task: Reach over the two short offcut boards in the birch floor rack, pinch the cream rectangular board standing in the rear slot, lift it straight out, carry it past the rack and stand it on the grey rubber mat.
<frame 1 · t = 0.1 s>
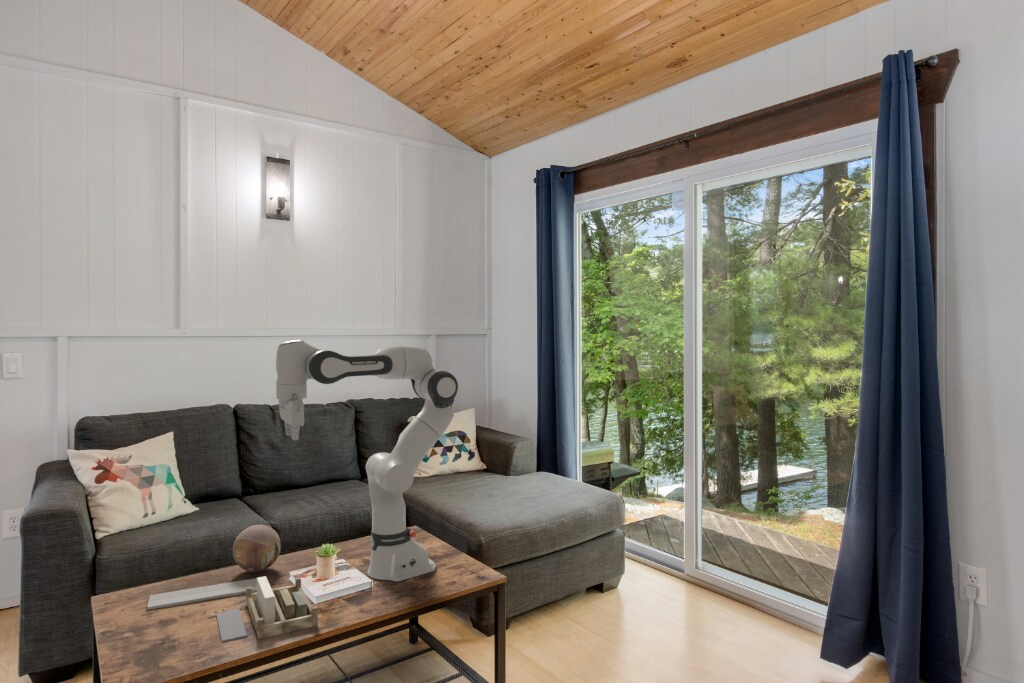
hand: (292, 437, 195), 48 cm above the table, fingers open, 8 cm apart
rack: (280, 614, 180), on the table
baseboard molding: (206, 595, 195), on the table
mat: (231, 625, 174), on the table
offcuts: (292, 602, 183), in the rack
cream rectangular board: (265, 618, 178), resting in rack
ornament: (257, 569, 213), on the table
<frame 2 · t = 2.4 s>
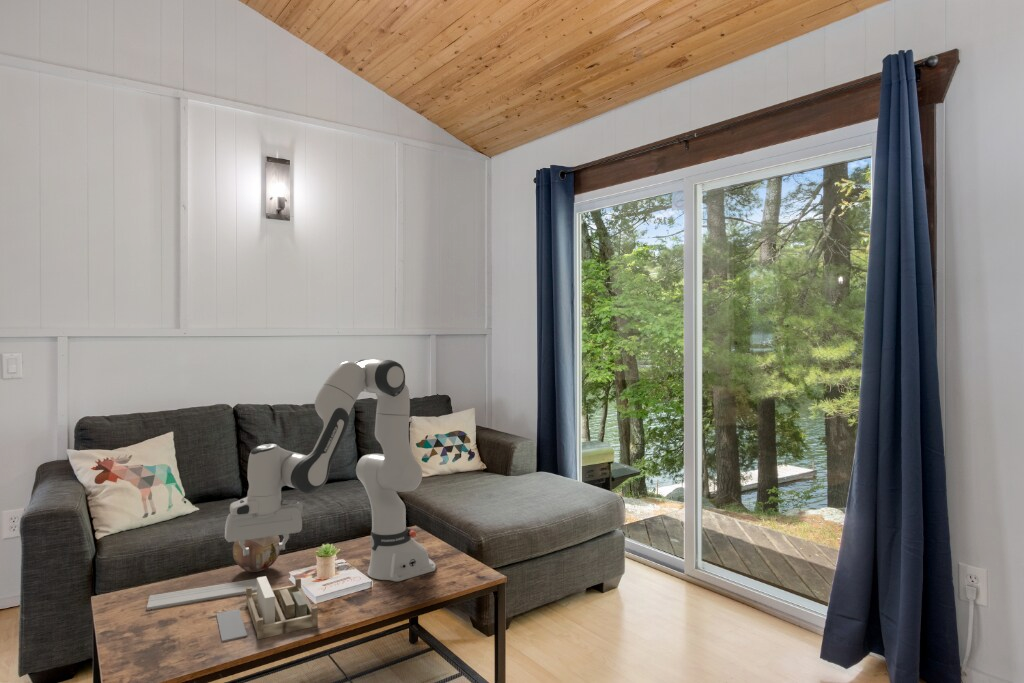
hand: (264, 552, 178), 19 cm above the table, fingers open, 8 cm apart
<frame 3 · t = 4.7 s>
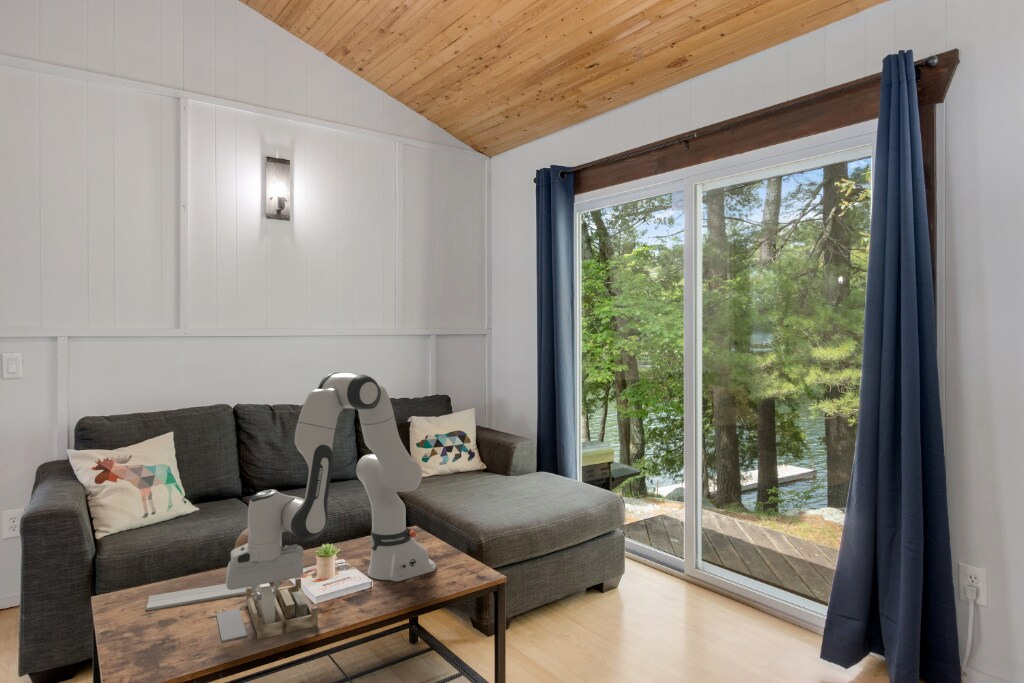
hand: (265, 598, 178), 6 cm above the table, fingers closed on cream rectangular board, 2 cm apart
cream rectangular board: (265, 618, 178), resting in rack, touching gripper
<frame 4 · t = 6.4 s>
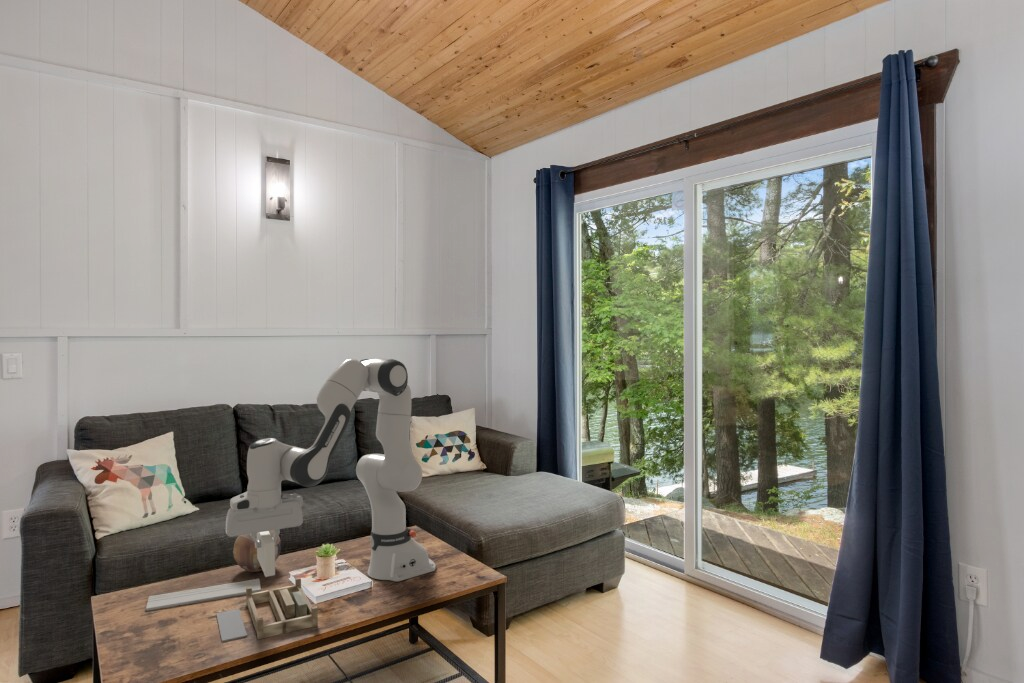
hand: (265, 546, 178), 20 cm above the table, fingers closed on cream rectangular board, 2 cm apart
cream rectangular board: (265, 566, 178), point 15 cm above the table, touching gripper
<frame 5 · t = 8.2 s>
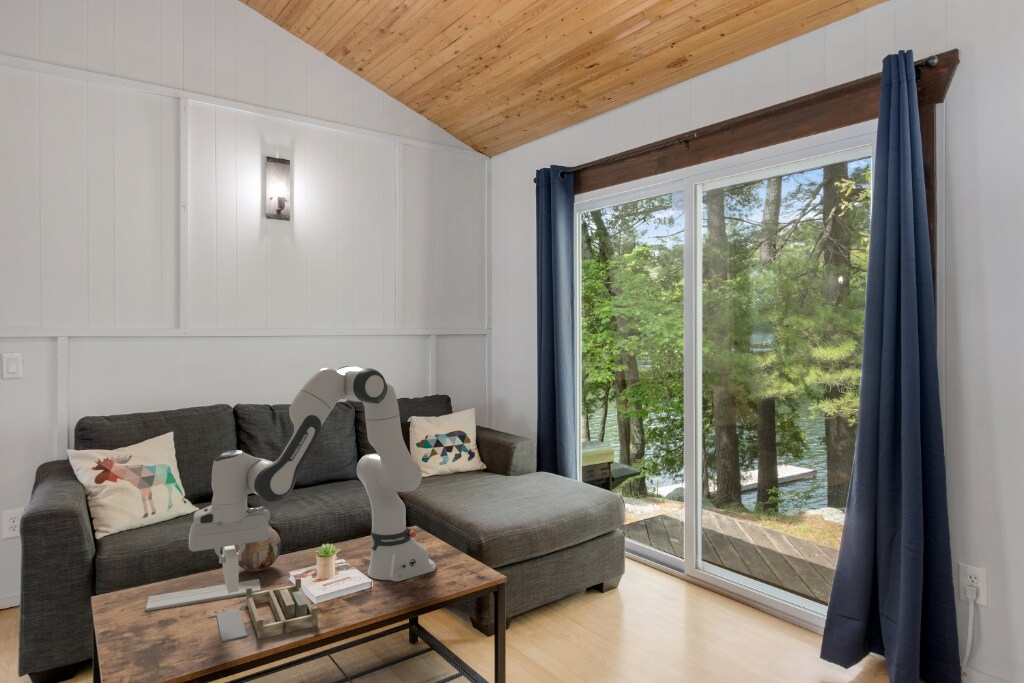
hand: (230, 561, 173), 18 cm above the table, fingers closed on cream rectangular board, 2 cm apart
cream rectangular board: (230, 581, 174), point 12 cm above the table, touching gripper
when the fingers open (7 cm above the table, at t = 10.6 s): cream rectangular board stays where it is, resting on mat.
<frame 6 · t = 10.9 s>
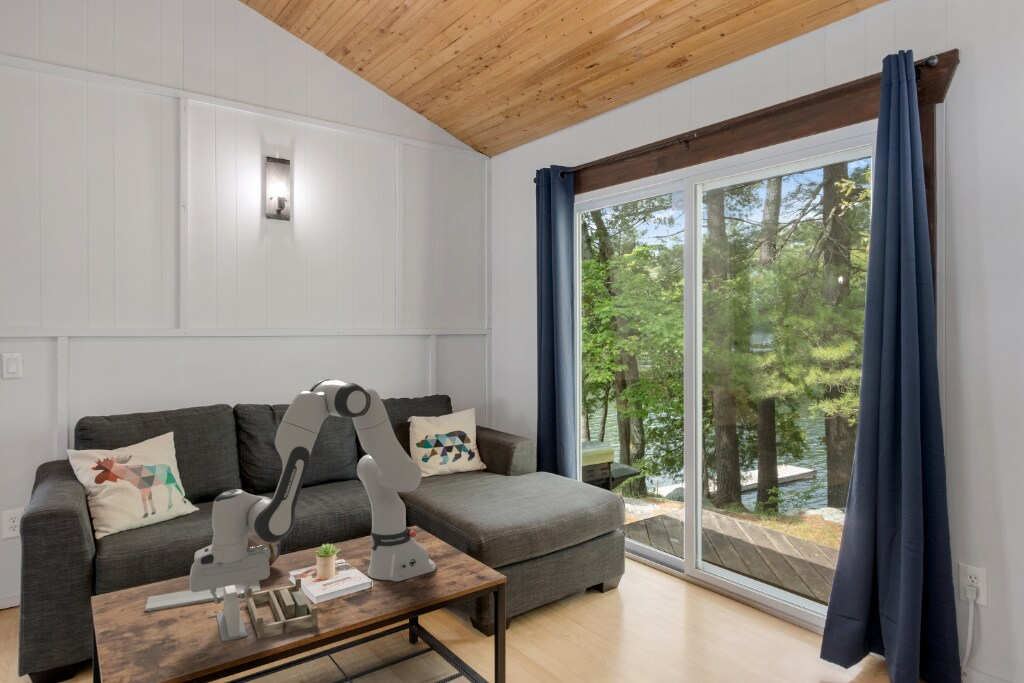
hand: (230, 600, 174), 7 cm above the table, fingers open, 5 cm apart
cream rectangular board: (231, 623, 174), resting on mat
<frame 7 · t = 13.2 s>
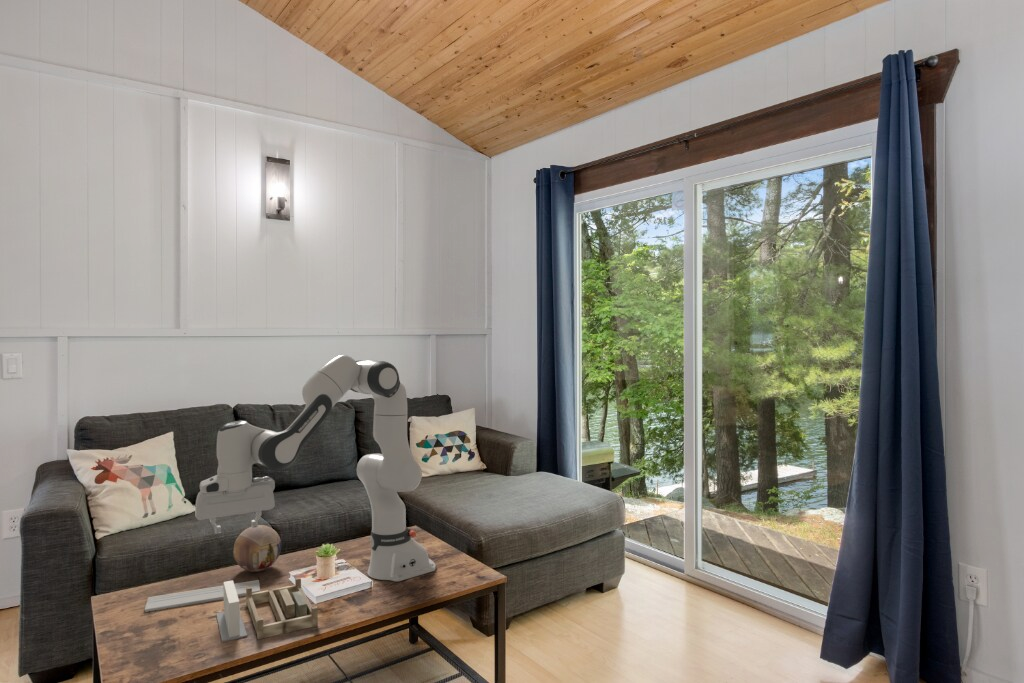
hand: (236, 529, 176), 26 cm above the table, fingers open, 8 cm apart
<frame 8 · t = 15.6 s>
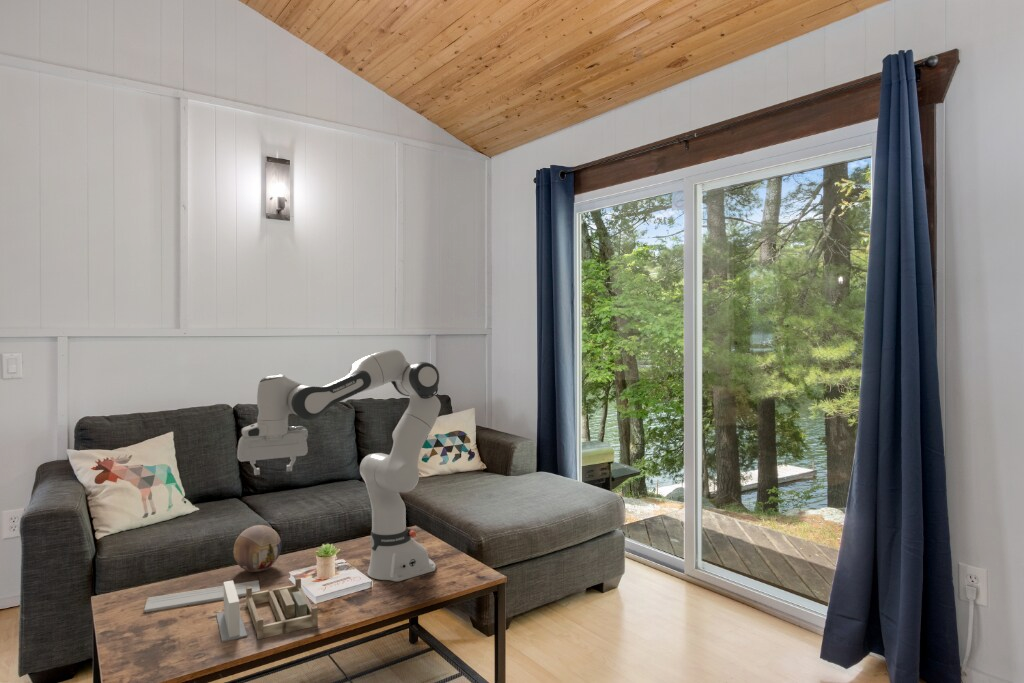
hand: (273, 472, 195), 37 cm above the table, fingers open, 8 cm apart
at the end: cream rectangular board inside the target area (0.9 cm from its centre), resting on mat; cream rectangular board tilted 0°; the gripper is holding nothing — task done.
